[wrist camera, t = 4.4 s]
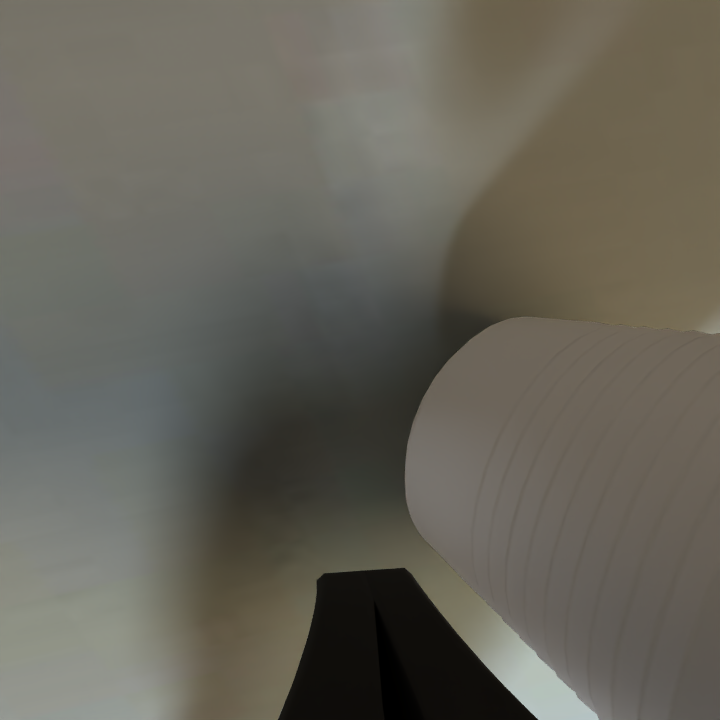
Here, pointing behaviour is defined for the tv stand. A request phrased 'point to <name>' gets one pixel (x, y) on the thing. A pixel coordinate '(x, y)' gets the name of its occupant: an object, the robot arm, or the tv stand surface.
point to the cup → (584, 502)
